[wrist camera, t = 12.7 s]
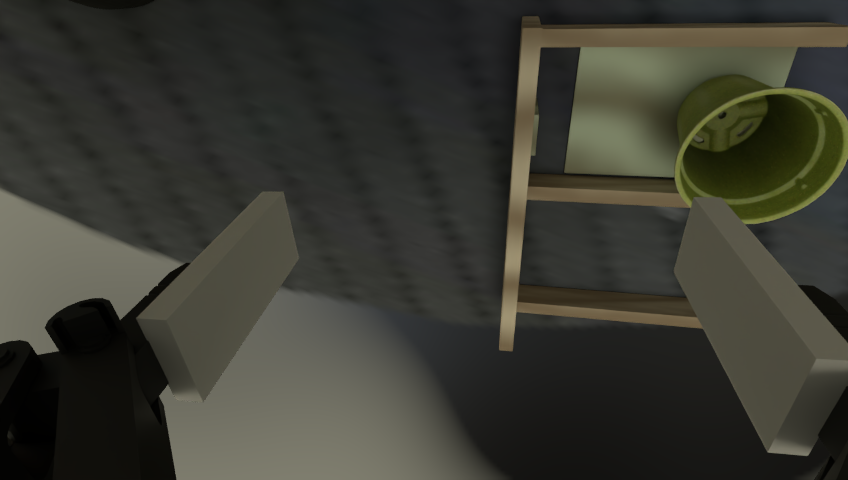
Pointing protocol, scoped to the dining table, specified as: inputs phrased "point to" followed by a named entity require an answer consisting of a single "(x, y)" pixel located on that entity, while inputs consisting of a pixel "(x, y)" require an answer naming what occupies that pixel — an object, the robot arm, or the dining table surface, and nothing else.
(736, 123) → the plant pot
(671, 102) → the notch rack
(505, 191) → the dining table surface
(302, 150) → the dining table surface
